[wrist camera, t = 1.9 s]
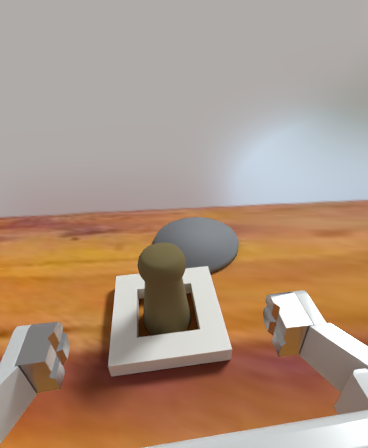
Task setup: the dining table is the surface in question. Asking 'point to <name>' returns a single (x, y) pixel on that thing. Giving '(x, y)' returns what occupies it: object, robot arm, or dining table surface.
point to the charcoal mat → (201, 242)
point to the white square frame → (172, 342)
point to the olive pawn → (164, 289)
